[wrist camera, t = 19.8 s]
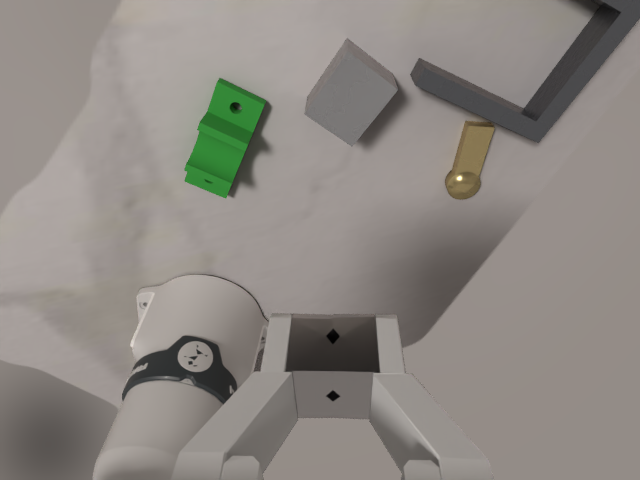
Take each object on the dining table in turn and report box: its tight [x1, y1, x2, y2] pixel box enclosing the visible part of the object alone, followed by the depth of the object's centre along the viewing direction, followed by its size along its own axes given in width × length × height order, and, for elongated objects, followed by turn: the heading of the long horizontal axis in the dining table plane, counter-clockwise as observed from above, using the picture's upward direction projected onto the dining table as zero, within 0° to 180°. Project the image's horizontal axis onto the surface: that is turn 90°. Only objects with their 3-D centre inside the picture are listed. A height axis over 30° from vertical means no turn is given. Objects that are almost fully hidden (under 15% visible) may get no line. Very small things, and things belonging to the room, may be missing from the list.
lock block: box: [304, 38, 398, 146], centre depth 35 cm, size 6×5×4 cm
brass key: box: [445, 121, 495, 199], centre depth 40 cm, size 8×3×1 cm, turn 177°
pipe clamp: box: [185, 78, 266, 198], centre depth 39 cm, size 11×4×5 cm
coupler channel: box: [410, 0, 640, 143], centre depth 33 cm, size 12×12×3 cm
